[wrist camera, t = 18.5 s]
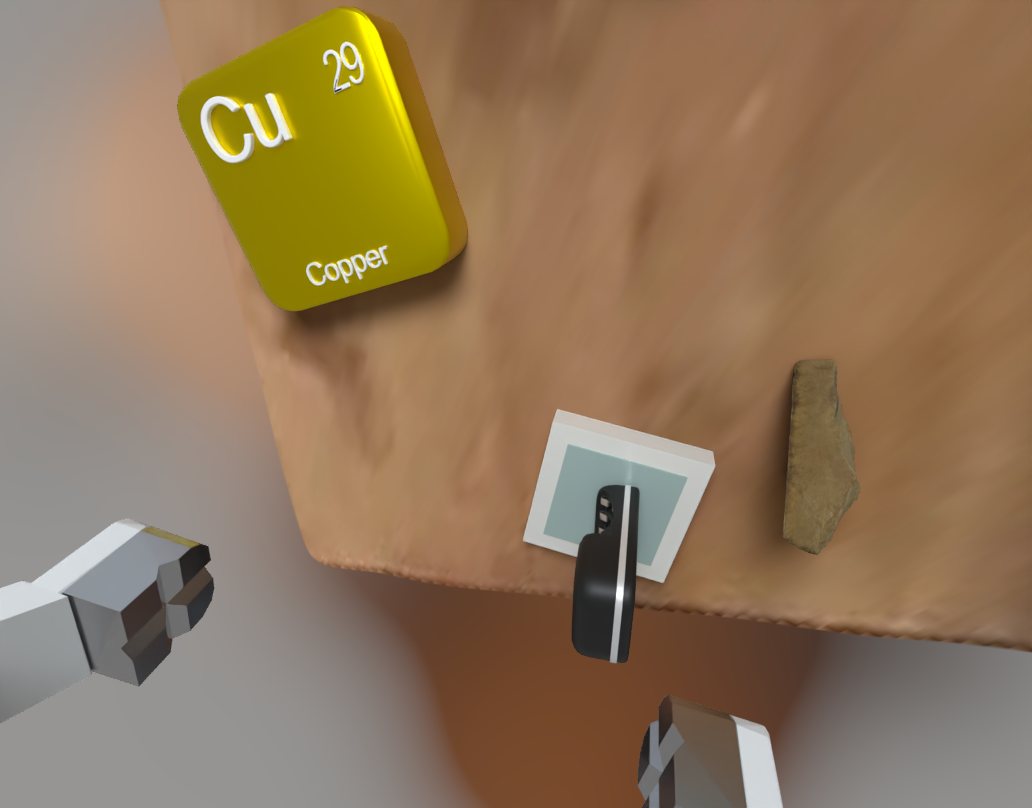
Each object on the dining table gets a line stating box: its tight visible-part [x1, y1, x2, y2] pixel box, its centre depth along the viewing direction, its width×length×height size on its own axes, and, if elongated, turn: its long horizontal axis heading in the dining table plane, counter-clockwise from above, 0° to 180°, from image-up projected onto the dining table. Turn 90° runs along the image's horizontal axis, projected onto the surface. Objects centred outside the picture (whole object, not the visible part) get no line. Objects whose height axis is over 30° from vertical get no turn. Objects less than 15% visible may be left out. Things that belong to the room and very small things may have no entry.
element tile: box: [177, 6, 468, 311], centre depth 36 cm, size 15×15×5 cm
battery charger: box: [572, 485, 640, 663], centre depth 38 cm, size 7×4×11 cm, turn 1°
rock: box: [783, 360, 860, 555], centre depth 35 cm, size 11×9×10 cm
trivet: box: [523, 409, 715, 583], centre depth 43 cm, size 12×12×2 cm
